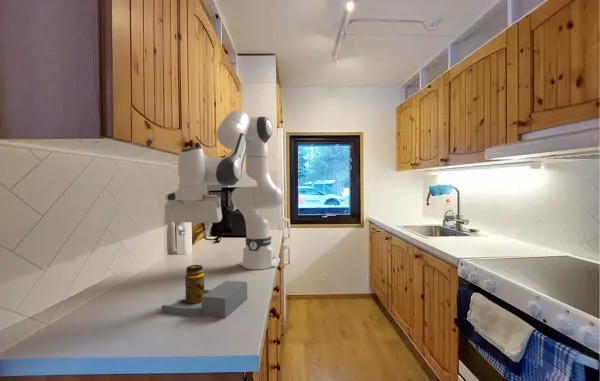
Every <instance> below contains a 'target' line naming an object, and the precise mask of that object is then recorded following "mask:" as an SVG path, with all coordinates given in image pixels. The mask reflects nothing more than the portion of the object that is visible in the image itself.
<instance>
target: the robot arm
mask: <svg viewBox="0 0 600 381" xmlns="http://www.w3.org/2000/svg"><path fill="white" fill-rule="evenodd" d="M216 130H217V131H216V138H217V141H218V142H219V143H220V144H221V146H223V147H224V148H225V149H228V150H231V151H230V154H229V155H228V156H225V157H212V158H211V157H208V156H207V155H206V154H205V152H204V149H203V148H202V147H199V146H194V147H185V148H182V149H181V150H179V153H178V157H177V173H178V174H177V175H178V178H179V180H178V181H179V182H178V189H176V190H175V191H172V192H169V193H167V194H165V195H164V196H165V201H166V202H165V203H164V220H165V221H166V222H168V223H174V226H175V228H176V230H177V233H178V234H177V235H178V236H185V234H186V229H183V226H182V225H183V223H202V224H203V223H204V224H205V227H206V228H205V230H202V236H203V237H208V236H209V237H210V230H211V228H212V227H213V224H217V223H220V222H222V219H223V213H222V206H221V205H222V202H221V198H220V197H219V196H217V194H207V185H208V186H209V185H212V186H216V185H217V186H218V185H219V186H220V185H222V186H234V185H236V184H237V183H238V182H239V181H240V179H241V178H242V172H243V171H242V170H243V166H244V165H243V164H244V161H245V173H246V175H247V177H249V178H250V179H253V180H254V181H255V182H256V186H242V187H238V188H235V189H233V190H232V193H231V197H230V199H231V202H232V205H233V207H235V208H236V209H238V210H239V212H240V213H241V214H242V216H243V218H244V221H245V229H246V237H245V247H244V248H243V250H242V255H243V256H242V262H240V266H242V267H243V268H244V269H248V270H264V269H265V270H266V269H269V268H270V269H272V268H277V267H278V265H279V264H280V261H281V258H280V257H278V256H277V253H276V248H274V246H273V245H272V240H273V238H272V237H273V236H271V235H270V221H269V220H268V218H266V217H264V216H263V215H261V214H260V213H259V211H258V210H264V209H265V210H272V209H276V208H280V207H281V205H282V204H283V202H284V193H283V191H282V189H281V188H280V187H279V186H277V185H276V183H274V181H273V179H272V178H271V175H270V167H269V166H270V165H269V147H268V141H269V139H270V138H271V137H272V134H273V124H272V121H271V120H270V119H269V117H267V116H249V115H248V114H247V113H246V112H245V111H243V110H242V109H235V110H233V111H231V112H230V113H229V114H227V115H226V117H225V118H223V119H222V122H220V124H219V125H218V128H217V129H216Z"/></svg>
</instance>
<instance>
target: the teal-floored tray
mask: <svg viewBox="0 0 600 381" xmlns="http://www.w3.org/2000/svg"><path fill="white" fill-rule="evenodd" d="M182 299H186V295H185V296H184V297H182V298H180V299H179V300H182ZM247 300H248V282H247V281H239V280H238V281H237V280H225V281H223V282H222V283H220V284H218V285H217V286H216V287H214V288H212V289H205V288H204V295H203V296H201V304H198V305H192V306H188V307H181V306H180V304H179V303H178V302H177V301H175V302H173V303H172V304H170V305H168V304H162V305H161V306H160V308H161V313H165V314H174V315H175V314H176V315H184V316H194V317H202V316H203V317H209V318H211V317H212V318H219V319H220V318H221V319H226V318H227V317H228V316H230V315H231V314H232V313H233V312H234V311H236V310H237V309H238V308H239V307H240V306H241V305H242V304H243V303H245V302H246V301H247Z"/></svg>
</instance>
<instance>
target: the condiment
mask: <svg viewBox="0 0 600 381" xmlns="http://www.w3.org/2000/svg"><path fill="white" fill-rule="evenodd" d="M203 269H204V268H203V265H202V264H192V265H188V266H186V270H185V273H186V274H185V276H184V279H185V284H184V285H185V296H186V299H182V298H181V299H182V300H180V299H177V300H176V302H178V303H179V304H180V306H181V307H188V306H192V305H198V304H201V296H203V295H204V289H205V274H204V272H203Z"/></svg>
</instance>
